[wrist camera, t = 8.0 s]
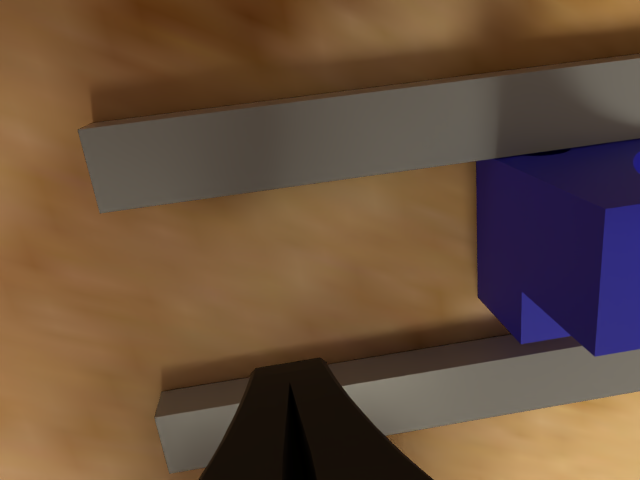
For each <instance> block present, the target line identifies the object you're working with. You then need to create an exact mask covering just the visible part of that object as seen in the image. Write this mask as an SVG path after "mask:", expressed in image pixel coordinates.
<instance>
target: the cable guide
mask: <svg viewBox="0 0 640 480" xmlns="http://www.w3.org/2000/svg"><path fill="white" fill-rule="evenodd" d="M78 133H79V137H80V141H81V144H82V148H83V152H84V156H85V159H86V163H87V167H88V171H89V174H90V178H91V182H92V186H93V189H94V193H95V197H96V201H97V204H98V208H99V212H100V213H106V212H113V211H120V210H127V209H135V208H142V207H149V206H156V205H163V204H171V203H178V202H185V201H192V200H199V199H207V198H214V197H221V196H228V195H235V194H243V193H250V192H257V191H264V190H271V189H279V188H286V187H293V186H300V185H307V184H315V183H322V182H329V181H336V180H343V179H350V178H358V177H365V176H372V175H379V174H386V173H394V172H401V171H408V170H415V169H422V168H430V167H437V166H444V165H451V164H458V163H466V162H473V161H480V160H487V159H494V158H502V157H509V156H516V155H523V154H530V153H538V152H545V151H552V150H559V149H566V148H574V147H581V146H588V145H595V144H602V143H610V142H617V141H624V140H631V139H638V138H640V54H632V55H624V56H617V57H609V58H601V59H593V60H585V61H577V62H569V63H561V64H553V65H545V66H538V67H530V68H522V69H514V70H506V71H498V72H490V73H482V74H474V75H467V76H459V77H451V78H443V79H435V80H427V81H419V82H411V83H403V84H395V85H388V86H380V87H372V88H364V89H356V90H348V91H340V92H332V93H324V94H317V95H309V96H301V97H293V98H285V99H277V100H269V101H261V102H253V103H245V104H238V105H230V106H222V107H214V108H206V109H198V110H190V111H182V112H174V113H167V114H159V115H151V116H143V117H135V118H127V119H119V120H111V121H103V122H95V123H91V124H89V125H87V126H85V127H82V128H80V129H78ZM328 366H329V368H330V370H331V371H332V373H333V374H334V376H335V377H336V379H337V380H338V382H339V383H340V385H341V386H342V387H343V388H344V390H345V391H346V392H347V394H348V395H349V396H350V398H351V399H352V400H353V401H354V402H355V404H356V405H357V406H358V407H359V408H360V409H361V410H362V412H363V413H364V414H365V415H366V416H367V417H368V418H369V419H370V421H371V422H372V423H373V424H374V425H375V426H376V427H377V428H378V429H379V430H380V431H381V432H382V433H383V434H384V435H385V436H387V435H393V434H398V433H404V432H410V431H416V430H421V429H427V428H433V427H438V426H444V425H450V424H455V423H461V422H467V421H473V420H478V419H484V418H490V417H495V416H501V415H507V414H512V413H518V412H524V411H530V410H535V409H541V408H547V407H552V406H558V405H564V404H569V403H575V402H581V401H586V400H592V399H598V398H604V397H609V396H615V395H621V394H626V393H632V392H638V391H640V349H638V350H632V351H626V352H620V353H614V354H608V355H602V356H596V357H594V356H593V355H592V354H591V353H590V352H589V351H588V350H587V349H585V348H584V347H583V346H582V345H581V344H580V343H579V342H578V341H576V340H575V339H574V338H573V337H572V336H568V337H562V338H556V339H550V340H544V341H538V342H532V343H526V344H520V343H519V342H518V341H517V340H516V338H515V337H514V336H513V335H512V334H511V335H505V336H498V337H492V338H486V339H480V340H474V341H468V342H462V343H456V344H450V345H444V346H438V347H432V348H425V349H419V350H413V351H407V352H401V353H395V354H389V355H383V356H377V357H371V358H365V359H358V360H352V361H346V362H340V363H334V364H328ZM249 378H250V377H249ZM249 378H243V379H237V380H231V381H225V382H218V383H212V384H206V385H200V386H194V387H188V388H182V389H176V390H170V391H164V392H161V395H160V399H159V402H158V406H157V410H156V414H155V417H154V418H155V422H156V425H157V429H158V433H159V437H160V440H161V444H162V448H163V452H164V455H165V459H166V463H167V467H168V470H169V474H171V473H176V472H182V471H188V470H193V469H199V468H205V467H207V465H208V463H209V462H210V460H211V458H212V457H213V455H214V453H215V452H216V450H217V448H218V446H219V444H220V442H221V441H222V439H223V437H224V435H225V433H226V431H227V429H228V427H229V425H230V423H231V421H232V419H233V417H234V415H235V413H236V410H237V408H238V406H239V404H240V402H241V399H242V397H243V395H244V392H245V390H246V387H247V384H248V381H249Z"/></svg>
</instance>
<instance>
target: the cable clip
mask: <svg viewBox="0 0 640 480" xmlns="http://www.w3.org/2000/svg"><path fill="white" fill-rule="evenodd" d="M476 186H477V272H478V298H479V299H480V300H481V301H482V302H483V303H484V304H485V306H486V307H487V308H488V309H489V310H490V311H491V312H492V313H493V314H494V315H495V317H496V318H497V319H498V320H499V321H500V322H501V323H502V324H503V325H504V326H505V328H506V329H507V330H508V331H509V332H510V333H511V334H512V335H513V336H514V337H515V338H516V340H517V341H518V342H519V343H520V344H526V343H532V342H538V341H544V340H550V339H556V338H562V337H568V336H572V337H573V338H574V339H575V340H576V341H578V342H579V343H580V344H581V345H582V346H583V347H584V348H585V349H587V350H588V351H589V352H590V353H591V354H592V355H593V356H594V357H596V356H602V355H608V354H614V353H620V352H626V351H632V350H638V349H640V138H638V139H631V140H624V141H617V142H610V143H602V144H595V145H588V146H581V147H574V148H566V149H559V150H552V151H545V152H538V153H530V154H523V155H516V156H509V157H502V158H494V159H487V160H480V161H476Z"/></svg>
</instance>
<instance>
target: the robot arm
mask: <svg viewBox="0 0 640 480" xmlns="http://www.w3.org/2000/svg"><path fill="white" fill-rule="evenodd" d="M199 480H434V479H432V478H431V477H430V476H429V475H427V474H426V473H425V472H424V471H422V470H421V469H420V468H419V467H418V466H417V465H416V464H414V463H413V462H412V461H411V460H410V459H409V458H408V457H407V456H405V455H404V454H403V453H402V452H401V451H400V450H399V449H398V448H397V447H396V446H395V445H394V444H393V443H392V442H391V441H390V440H389V439H388V438H387V437H386V436H385V435H384V434H383V433H382V432H381V431H380V430H379V429H378V428H377V427H376V426H375V425H374V424H373V423H372V422H371V421H370V419H369V418H368V417H367V416H366V415H365V414H364V413H363V412H362V410H361V409H360V408H359V407H358V406H357V405H356V404H355V402H354V401H353V400H352V399H351V398H350V396H349V395H348V394H347V392H346V391H345V390H344V388H343V387H342V386H341V385H340V383H339V382H338V380H337V379H336V377H335V376H334V374H333V373H332V371H331V370H330V368H329V366H328V364H327V362H326V361H324V360H323V359H321V358H315V359H309V360H303V361H297V362H291V363H285V364H279V365H273V366H266V367H260V368H256V369H255V370H254V371H253V372H252V373H251V375H250V378H249V381H248V384H247V387H246V390H245V392H244V395H243V397H242V399H241V402H240V404H239V406H238V408H237V410H236V413H235V415H234V417H233V419H232V421H231V423H230V425H229V427H228V429H227V431H226V433H225V435H224V437H223V439H222V441H221V442H220V444H219V446H218V448H217V450H216V452H215V453H214V455H213V457H212V458H211V460H210V462H209V463H208V465H207V467H206V468H205V470H204V472H203V473H202V475H201V477H200V478H199Z"/></svg>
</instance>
